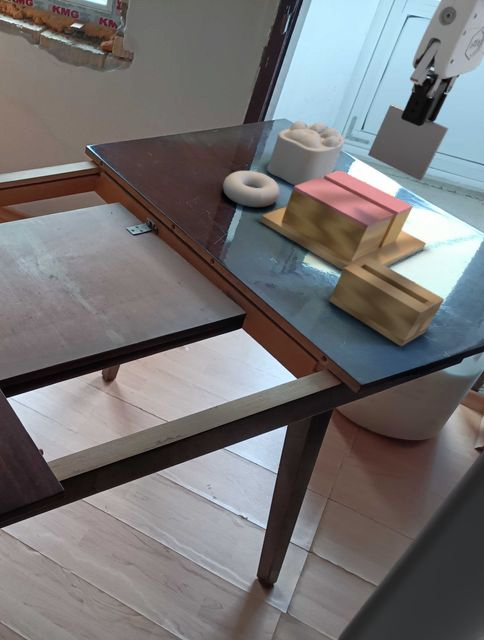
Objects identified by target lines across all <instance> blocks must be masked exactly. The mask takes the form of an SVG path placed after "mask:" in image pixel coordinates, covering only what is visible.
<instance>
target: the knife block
mask: <svg viewBox="0 0 484 640" xmlns="http://www.w3.org/2000/svg"><path fill="white" fill-rule="evenodd" d="M341 271H342V272H341V274H340V275H339V278H338V280H337V282H336V285H335V287H334V289H333V290H332V294H331V296H330V298H329V301H328V302H330V303H331V304H333V305H335V306H336V307H338V308H340V309H341V310H343V311H344V312H346V313H347V314H349V315H351V316H352V317H354V318H355V319H357V320H359V321H360V322H362V323H363V324H365V325H366V326H368V327H369V328H371V329H373V330H374V331H375V332H377V333H379V334H381V335H382V336H384V337H385V338H387V339H389V340H390V341H392V342H393V343H395V345H398V346H399V347H403V346H405V345H406V344H408V343H410V342H411V341H412V340H414V339H416V338H418V337H420V336H421V335H423V334H425V333H426V331H427V330H428V328H429V327H430V324H431V323H432V321H433V320H434V318H435V316H436V314H437V313H438V311H439V310H440V308H441V306H442V304H443V303H444V301H445V298H443V297H441V296H440V295H438V294H436V293H435V292H432V291H431V290H429V289H427V288H426V287H423V286H422V285H420V284H418V283H416V282H415V281H413V280H411V279H409V278H408V277H406V276H404V275H402V274H400V273H399V272H397V271H395V270H393V269H392V268H390V267H389V266H387V267H386V266H385V265H383V264H381V263H379V262H377V261H376V260H374V259H372V258H370V257H366V258H364V259H362V260H360V261H358V262H356V263H353V264H351V265H349V266H347V267H345V268H344V269H343V270H341Z"/></svg>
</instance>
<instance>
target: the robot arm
mask: <svg viewBox="0 0 484 640" xmlns="http://www.w3.org/2000/svg"><path fill="white" fill-rule="evenodd" d="M483 60H484V0H440V1H439V3H438V5H437V7H436V9H435V10H434V13H433V14H432V17H431V19H430V20H429V22H428V25H427V27H426V29H425V31H424V33H423V35H422V37H421V39H420V41H419V44H418V47H417V49H416V51H415V54H414V56H413V60H412V67H413V69H414V70H413V72H412V74H411V75H410V77H409V80H410V82H411V83H413V84H412V85H413V86H412V88H411V94H410V96H409V98H408V100H407V103H406V105H405V107H404V108H403V109H404V111H403V114H402V116H401V118H402V119H403V120H405V121H407V122H410V123H412V124H415V125H417V126H421V125H423V124H424V122H425V120H426V118H427V116H428V114H429V112H430V110H431V107H432V105H433V103H434V101H435V99H436V98H434V97H433V96H434V95H435V93H436V90H437V88H438V86H439V84H440V82H441V81H443V82H446V83H447V86H446V88H445V90H444V92H443V94H442V96H441V98H440V100H439V102H438V104H437V106H436V108H435V110H434V112H433V114H432V116H431V118H429V119H428V120H430V121H433V122H435V121H436V120H437V118H438V116H439V114H440V111H441V109H442V107H443V105H444V103H445V101H446V99H447V97H448V94H449V93H450V92H451V91H452V89H453V87H454V85H455V82H456V81H457V79H458V78H459V77H460V76H461V75H463V74H467V73H470V72H472V71H474V70H476V69H477V68H478V67H479V66H480V65H481V63H482V61H483ZM431 68H433V69H431ZM428 78H433V79H434V80H433V82H432V84H431V79H428Z"/></svg>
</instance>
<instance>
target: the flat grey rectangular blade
mask: <svg viewBox="0 0 484 640" xmlns="http://www.w3.org/2000/svg"><path fill="white" fill-rule="evenodd" d="M427 78H428V79H431V84H432V82H433V80H434V79H433V78H431V77H427ZM446 86H447V83H446V82H443V81H441V82H440V84H439V86H438V88H437V90H436V93H435V95H434V96H433V97H434V98H436V99H435V101H434V103H433V105H432V107H431V110H430V112H429V114H428V116H427V118H426V120H425V122H424V124H423V125H421V126H417V125H415V124H412V123H410V122H407V121H405V120H403V119H402V118H401V116H402V114H403V111H404V109H405V108H402V107H399V106H397V105H395V104H393V103H391V104H389V107H388V109H387V111H386V113H385V115H384V118H383V120H382V122H381V124H380V127H379V129H378V132H377V133H376V135H375V138H374V140H373V143H372V145H371V147H370V149H369V151H368V154H367V156H369V157H371V158H372V159H375V160H377V161H379V162H381V163H383V164H385V165H387V166H389V167H391V168H393V169H395V170H397V171H400V172H401V173H404V174H406V175H408V176H410V177H412V178H414V179H416V180H418V181H420V182H421V181H422V180H423V179H424V177H425V175H426V173H427V171H428V170H429V167H430V165H431V164H432V162H433V160H434V158H435V156H436V154H437V152H438V150H439V148H440V146H441V144H442V142H443V140H444V139H445V136H446V135H447V133H448V131H449V127H448V126H447V127H446V126H444V125H442V124H440V123H438V122H435V121H430V120H428V119H429V118H431V116H432V114H433V112H434V110H435V108H436V106H437V104H438V102H439V100H440V98H441V96H442V94H443V92H444V90H445V88H446Z"/></svg>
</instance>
